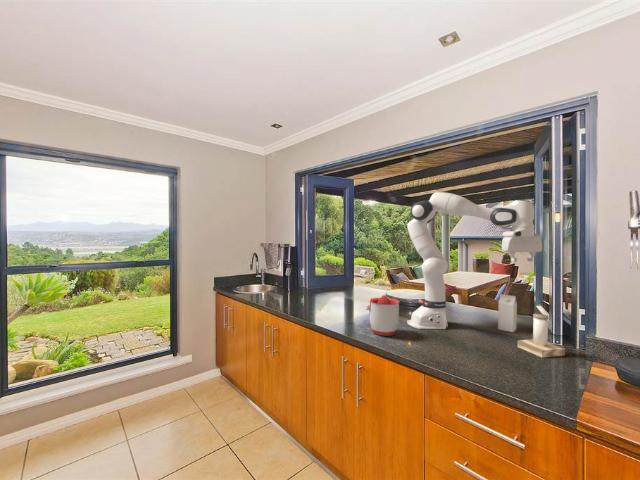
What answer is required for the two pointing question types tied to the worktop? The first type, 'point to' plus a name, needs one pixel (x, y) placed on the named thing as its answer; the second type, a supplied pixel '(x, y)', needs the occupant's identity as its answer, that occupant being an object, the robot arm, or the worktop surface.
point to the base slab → (541, 348)
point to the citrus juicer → (384, 315)
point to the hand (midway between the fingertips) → (522, 261)
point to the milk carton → (507, 313)
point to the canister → (540, 329)
